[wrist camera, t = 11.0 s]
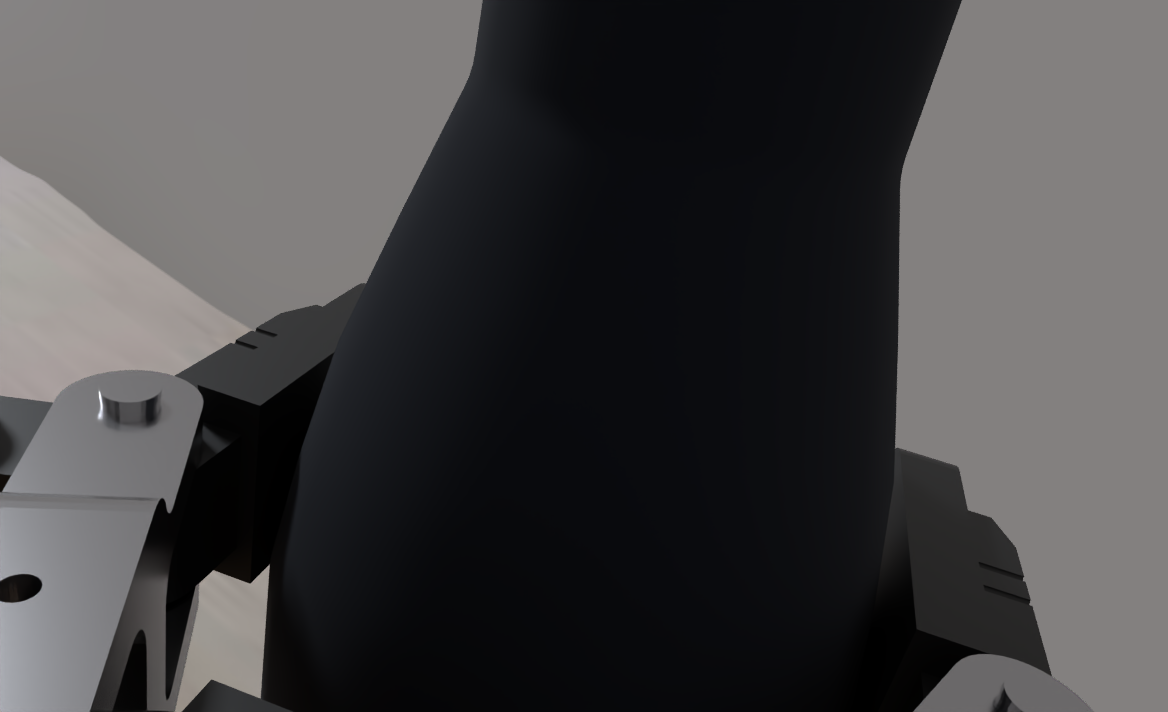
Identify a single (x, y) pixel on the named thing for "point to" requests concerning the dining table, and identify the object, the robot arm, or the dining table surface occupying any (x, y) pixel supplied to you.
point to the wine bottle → (620, 375)
